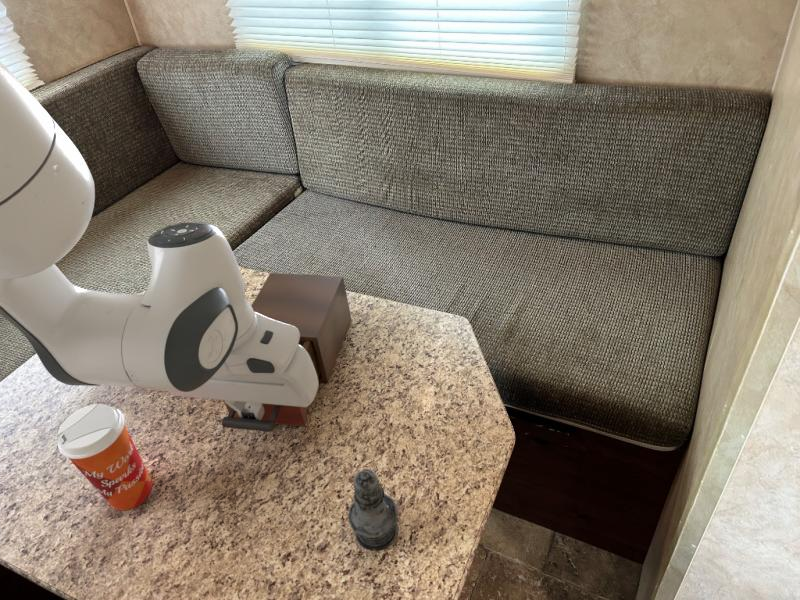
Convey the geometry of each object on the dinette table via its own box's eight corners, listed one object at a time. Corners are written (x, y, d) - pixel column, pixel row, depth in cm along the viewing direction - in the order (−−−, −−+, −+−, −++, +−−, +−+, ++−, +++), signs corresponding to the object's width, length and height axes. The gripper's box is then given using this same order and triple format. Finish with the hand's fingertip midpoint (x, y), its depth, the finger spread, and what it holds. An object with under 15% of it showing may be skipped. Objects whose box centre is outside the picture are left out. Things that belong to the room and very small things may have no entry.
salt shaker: (346, 548, 72) (329, 490, 64) (360, 504, 76) (345, 445, 69) (394, 557, 70) (382, 499, 63) (405, 512, 75) (396, 452, 67)
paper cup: (112, 529, 77) (63, 463, 68) (93, 490, 82) (45, 424, 73) (170, 492, 80) (130, 424, 71) (148, 457, 85) (108, 390, 76)
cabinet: (328, 383, 93) (316, 337, 87) (252, 377, 95) (235, 332, 89) (351, 320, 104) (342, 275, 98) (282, 316, 106) (270, 273, 100)
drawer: (294, 455, 82) (281, 417, 77) (217, 447, 84) (200, 410, 79) (331, 358, 96) (322, 321, 91) (264, 354, 98) (252, 317, 93)
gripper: (134, 354, 73) (172, 427, 82) (294, 365, 69) (316, 441, 77) (159, 319, 78) (193, 392, 86) (310, 328, 73) (330, 403, 82)
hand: (252, 415), depth 82 cm, fingers closed
